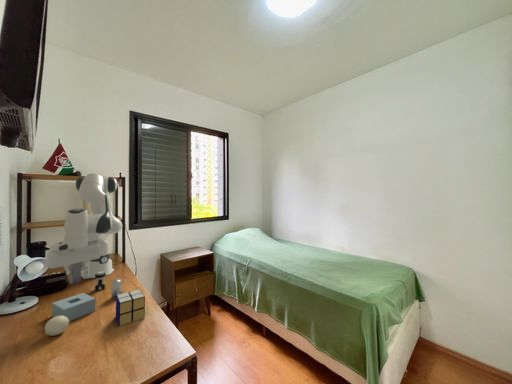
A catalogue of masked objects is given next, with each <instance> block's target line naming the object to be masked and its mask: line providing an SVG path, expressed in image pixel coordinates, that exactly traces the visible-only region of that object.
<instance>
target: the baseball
mask: <svg viewBox="0 0 512 384" xmlns="http://www.w3.org/2000/svg"><path fill="white" fill-rule="evenodd" d="M69 324H70V321H69V319H68V318H67V317H65V316H56V317H52V318H50V319H49V320H48V321H47V322H46V324H45V325H44V332H45V334H46V335H47V336H51V337H53V336H54V337H55V336H58V335H59V334H62V333H63V332H64V331H65V330H66V329H67V327H68V325H69Z"/></svg>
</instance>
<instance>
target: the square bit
mask: <svg viewBox="0 0 512 384" xmlns="http://www.w3.org/2000/svg"><path fill="white" fill-rule="evenodd" d="M81 266H82V263H76V264H71V265H69V270H72V274H70V275H69V278H68V279H69V282H68V283H69V284H71V285H75V284H79V283H81V282H82V277H81Z"/></svg>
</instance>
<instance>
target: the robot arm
mask: <svg viewBox="0 0 512 384" xmlns="http://www.w3.org/2000/svg"><path fill="white" fill-rule="evenodd" d="M118 186H119V185H118V181H117V179H116V178H115V177H112V176H102V175H101V174H99V173H94V172H93V173H88V174H86V175H84V176H83V175H81V176H79V177H77V178H76V180H75V189H76V191H78V195H79V198H80V199H82V200H83V202H85V203H88V204H89V205H90V212H91V213H92V214H89V213H88V210H87V209H86V208H74V209H73V208H71V209H69V210H67V211H66V214H65V219H64V224H63V226H64V227H63V228H64V237H63V240H62V241H58V242H56V243H53V244H51V245H50V246H49V250H50V251H48V254H47V255H46V258H45V259H46V260H45V267H46V268H48V269H49V270H53V269H57V268H61V267H63V269H64V270H65V272H66V275H67V276H68V275H69V276H70V274H72V270H70V265H71V264H76V263H81V279H83V280H84V279H96V278H95V274H97V272H101V271H104V273H106V274H105V277H106V276H108V275H111V274H112V273H113V272H115V269H114V268H113V260H112V259H111V252H110V251H111V249H110V247H111V246H110V245H111V244H110V242H109V241H108V240H107V239H105V238H102V237H101V235H113V234H117V233H119V232H121V230H122V229H123V223H122V220H120V219H119V218H118V217H116V216H115V215H114V214H113V212H112V209H111V197H110V194H111V193H114V192H116V191H117V188H118Z"/></svg>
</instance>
